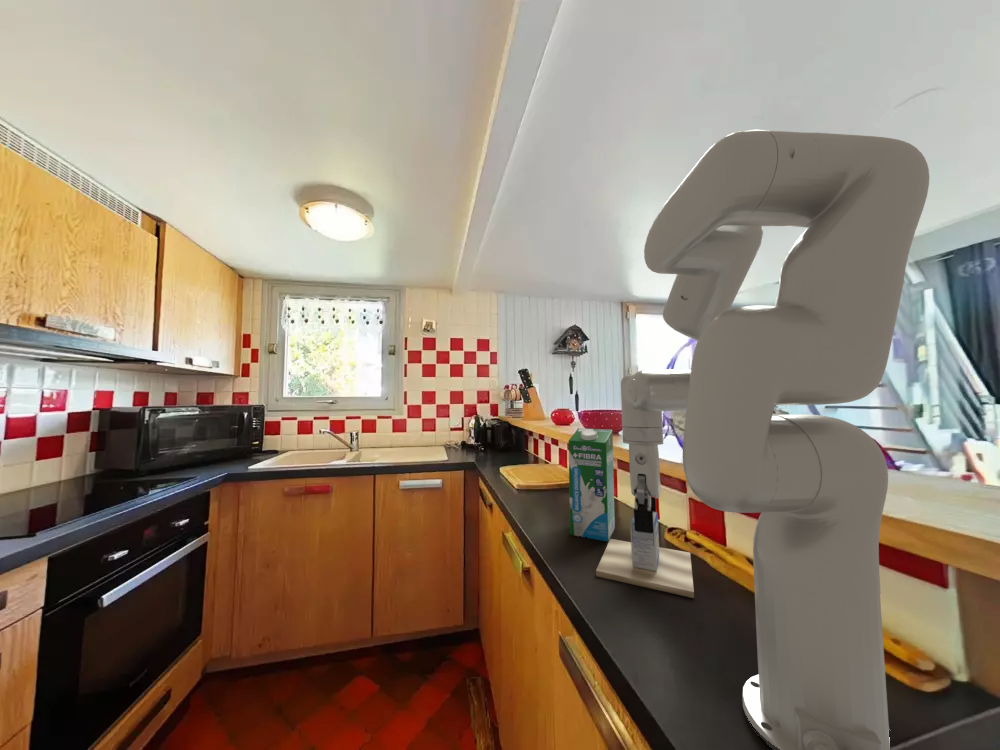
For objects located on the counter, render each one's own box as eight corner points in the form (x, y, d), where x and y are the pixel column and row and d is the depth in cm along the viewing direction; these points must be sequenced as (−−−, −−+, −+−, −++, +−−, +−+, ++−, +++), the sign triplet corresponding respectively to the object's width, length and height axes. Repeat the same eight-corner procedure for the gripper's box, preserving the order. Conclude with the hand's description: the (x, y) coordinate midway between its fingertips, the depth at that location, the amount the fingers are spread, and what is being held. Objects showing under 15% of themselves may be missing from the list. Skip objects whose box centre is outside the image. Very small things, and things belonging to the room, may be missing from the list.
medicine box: (657, 572, 64) (655, 524, 64) (631, 567, 66) (630, 521, 66) (659, 554, 71) (658, 511, 71) (636, 550, 73) (635, 508, 73)
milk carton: (569, 534, 84) (568, 430, 85) (579, 522, 92) (577, 427, 93) (608, 542, 80) (605, 432, 81) (614, 528, 88) (612, 429, 89)
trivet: (694, 598, 58) (693, 591, 58) (596, 575, 65) (596, 570, 65) (690, 557, 72) (690, 552, 72) (610, 543, 79) (610, 538, 79)
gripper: (661, 440, 60) (666, 542, 59) (664, 433, 76) (668, 513, 74) (616, 439, 64) (619, 535, 62) (627, 432, 79) (630, 509, 77)
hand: (646, 523), depth 68 cm, fingers open, 9 cm apart
